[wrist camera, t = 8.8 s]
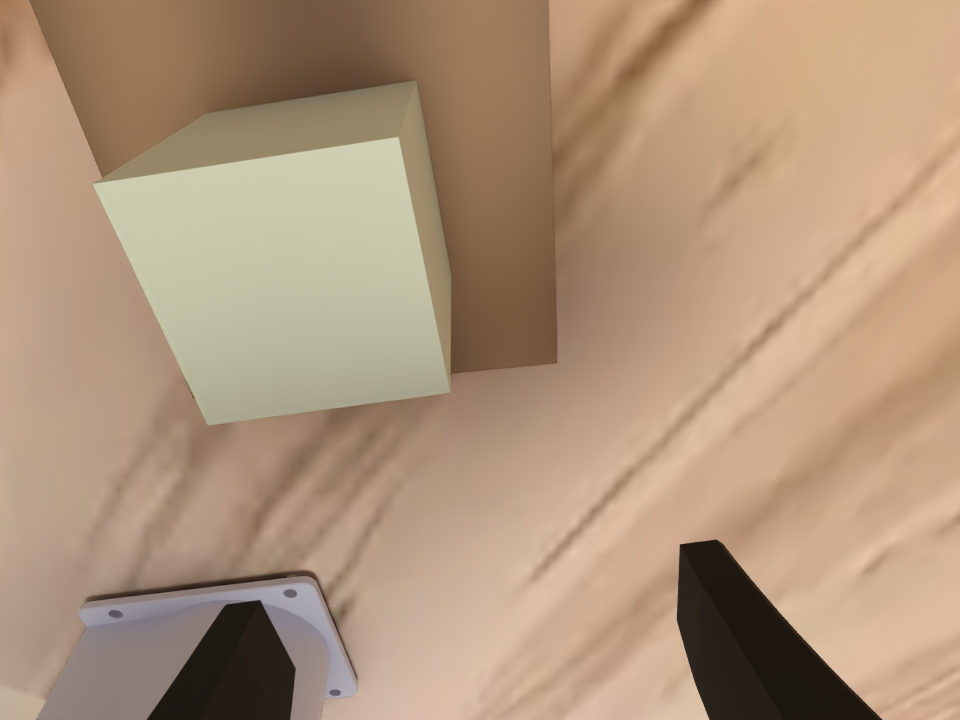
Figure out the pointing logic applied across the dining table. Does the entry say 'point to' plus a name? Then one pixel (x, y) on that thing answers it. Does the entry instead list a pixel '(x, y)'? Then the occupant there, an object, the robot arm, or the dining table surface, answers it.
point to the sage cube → (293, 253)
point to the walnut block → (344, 67)
